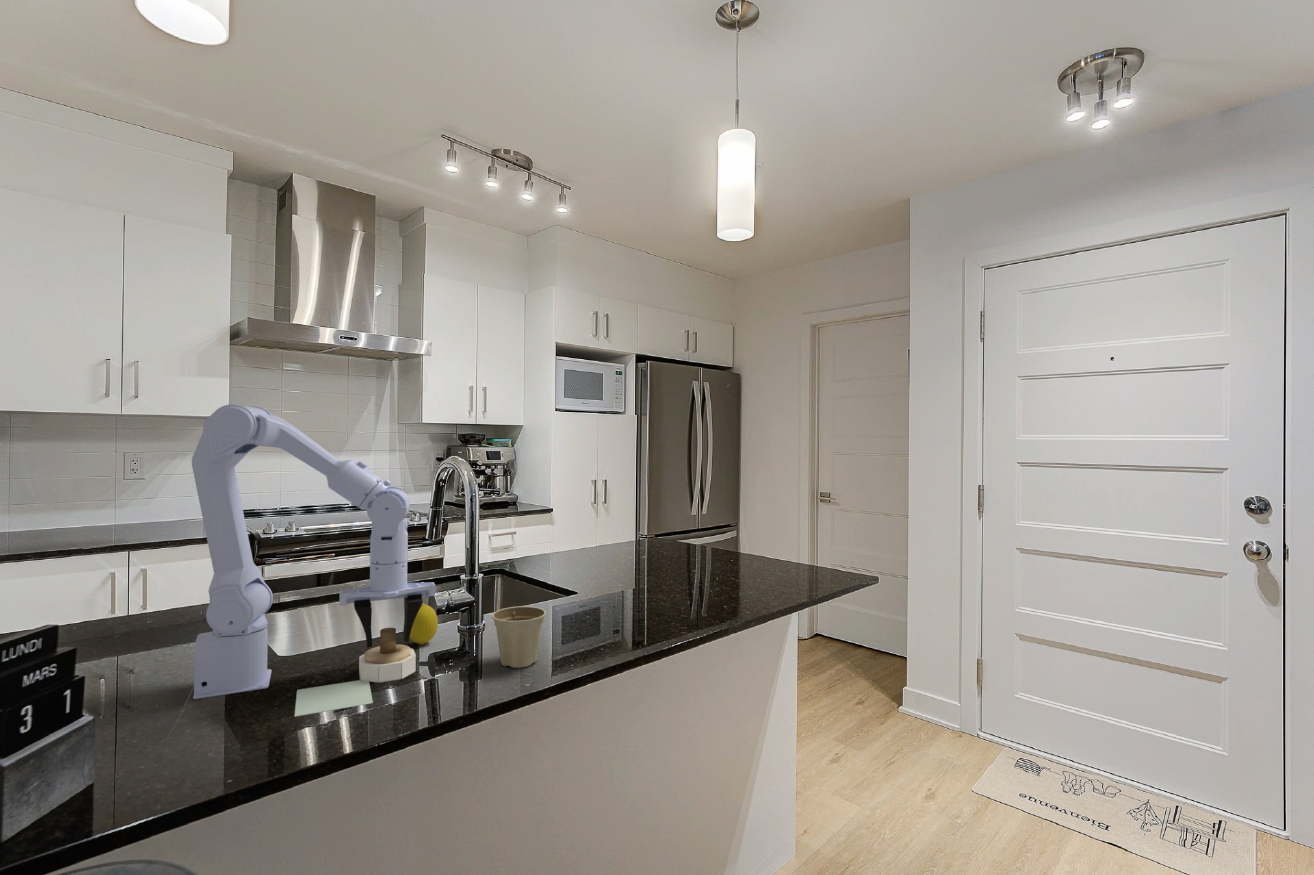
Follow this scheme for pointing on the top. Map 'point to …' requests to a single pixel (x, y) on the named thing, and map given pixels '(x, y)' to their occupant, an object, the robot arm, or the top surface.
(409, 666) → the bowl
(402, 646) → the lid
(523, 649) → the flower pot
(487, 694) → the top surface
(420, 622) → the lemon
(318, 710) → the mat
